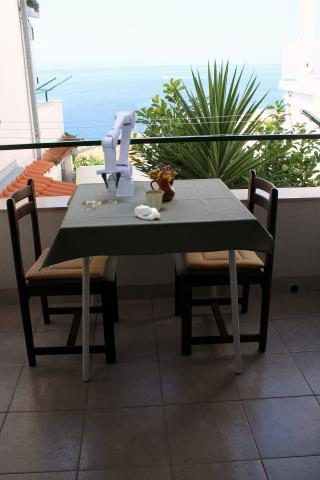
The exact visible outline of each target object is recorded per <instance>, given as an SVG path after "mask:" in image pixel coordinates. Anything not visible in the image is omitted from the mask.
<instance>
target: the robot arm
mask: <svg viewBox="0 0 320 480" xmlns="http://www.w3.org/2000/svg"><path fill="white" fill-rule="evenodd" d="M113 116H114V122H113V123H114V124H113V126H111V127H110V128H109V129H108V131H107V133H106V136H104V137H102V138H101V148H102V152H103V157H104V169H96V170H95V171H96V172H95V174H96V175H97V176H98V175H99V176H100V175H101V178H102V180H103V182H104V184H105V188H106V189H107V190H108V186H107V179H108V177H107V176H108V175H114V177H115V179H116V190H117V191H116V192H115V197H126V196H127V197H130V196H135V187H134V184H135V183H134V178H133V177H132V176H133V174H134V171H133V164H132V162H130V161H129V153H130V145H131V137H132V130H133V129H135V125H136V114H135V111H134V110H116V111H115V112H114V115H113ZM120 135H121V136H120ZM119 137H121V138H120V146H119V155H118V159H117V154H116V153H117V150H116V149H117V147H118V142H119V141H118V139H119Z"/></svg>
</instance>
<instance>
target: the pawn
mask: <svg viewBox="0 0 320 480" xmlns="http://www.w3.org/2000/svg"><path fill="white" fill-rule="evenodd" d="M107 186H108V189H107V192H108V193H116V192H117V189H116V179H115V177H114V175H112V174H108V177H107Z"/></svg>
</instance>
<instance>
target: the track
mask: <svg viewBox="0 0 320 480" xmlns="http://www.w3.org/2000/svg"><path fill="white" fill-rule="evenodd" d="M94 201H95V205H114V204H118V203H117V199H113V200H111V199H109V200H94ZM86 202H87V201H86V198H83V199H82V205H83V206H86Z"/></svg>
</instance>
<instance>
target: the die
mask: <svg viewBox="0 0 320 480" xmlns="http://www.w3.org/2000/svg"><path fill="white" fill-rule="evenodd" d="M95 201H96V200H86V201H85V202H86V205H85V206H86V211H96V204H95Z"/></svg>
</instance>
